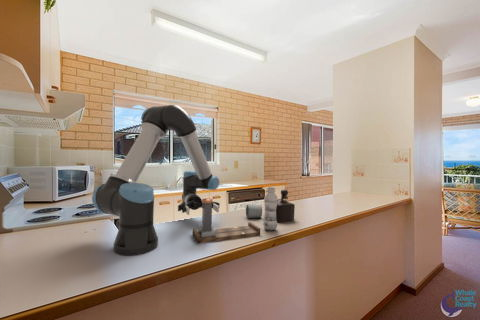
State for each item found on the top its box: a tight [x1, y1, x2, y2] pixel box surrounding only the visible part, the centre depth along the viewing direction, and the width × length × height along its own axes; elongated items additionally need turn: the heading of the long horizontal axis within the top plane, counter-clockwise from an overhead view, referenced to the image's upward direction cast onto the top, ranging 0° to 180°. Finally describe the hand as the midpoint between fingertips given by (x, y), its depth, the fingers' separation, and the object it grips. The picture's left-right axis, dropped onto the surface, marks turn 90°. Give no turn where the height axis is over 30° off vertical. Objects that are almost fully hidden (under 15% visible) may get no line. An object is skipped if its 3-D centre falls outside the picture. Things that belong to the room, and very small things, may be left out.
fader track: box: [191, 221, 261, 245], centre depth 100 cm, size 28×10×3 cm, turn 114°
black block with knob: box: [276, 189, 296, 223], centre depth 125 cm, size 16×11×18 cm
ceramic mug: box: [245, 203, 263, 219], centre depth 131 cm, size 11×8×8 cm
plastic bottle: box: [262, 187, 279, 231], centre depth 109 cm, size 6×7×20 cm
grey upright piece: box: [197, 197, 216, 238], centre depth 96 cm, size 6×7×15 cm
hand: (203, 210), depth 103 cm, fingers open, 13 cm apart
